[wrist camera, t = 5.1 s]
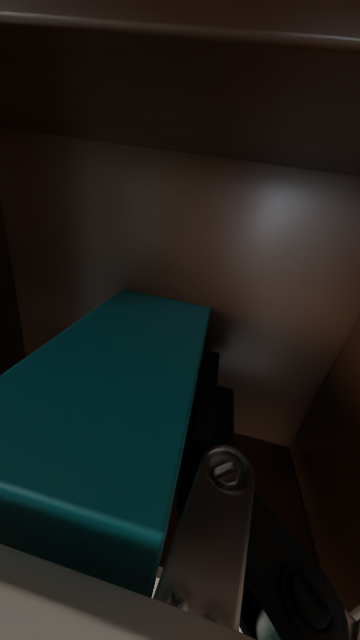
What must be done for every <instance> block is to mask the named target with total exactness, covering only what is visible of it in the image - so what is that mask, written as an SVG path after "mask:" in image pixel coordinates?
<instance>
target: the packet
mask: <svg viewBox="0 0 360 640" xmlns="http://www.w3.org/2000/svg"><path fill="white" fill-rule="evenodd" d="M210 312H211V308H210V307H206V306H201V305H196V304H191V303H187V302H182V301H177V300H172V299H167V298H162V297H158V296H153V295H148V294H143V293H138V292H134V291H129V290H124V289H123V290H121V291H119V292H118V293H117V294H115V295H114V296H112V297H111V298H110V299H108V300H107V301H105V302H104V303H102V304H101V305H100V306H98V307H97V308H95V309H94V310H93V311H91V312H90V313H88V314H87V315H85V316H84V317H83V318H81V319H80V320H78V321H77V322H76V323H74V324H73V325H71V326H70V327H68V328H67V329H66V330H64V331H63V332H61V333H60V334H58V335H57V336H56V337H54V338H53V339H51V340H50V341H49V342H47V343H46V344H44V345H43V346H41V347H40V348H39V349H37V350H36V351H34V352H33V353H32V354H30V355H29V356H27V357H26V358H24V359H23V360H22V361H20V362H19V363H17V364H16V365H15V366H13V367H12V368H10V369H9V370H7V371H6V372H5V373H3V374H2V375H0V544H2V545H5V546H8V547H10V548H13V549H16V550H19V551H22V552H24V553H27V554H30V555H33V556H36V557H39V558H41V559H44V560H47V561H50V562H53V563H55V564H58V565H61V566H64V567H67V568H69V569H72V570H75V571H78V572H80V573H83V574H86V575H89V576H91V577H94V578H97V579H100V580H103V581H105V582H108V583H111V584H114V585H116V586H119V587H122V588H125V589H127V590H130V591H133V592H136V593H139V594H141V595H144V596H147V597H150V598H151V597H152V593H153V589H154V585H155V580H156V576H157V572H158V568H159V564H160V559H161V555H162V551H163V547H164V543H165V538H166V534H167V529H168V524H169V519H170V514H171V509H172V504H173V499H174V494H175V489H176V484H177V478H178V473H179V468H180V463H181V458H182V453H183V448H184V443H185V438H186V433H187V428H188V423H189V418H190V413H191V408H192V403H193V398H194V393H195V388H196V383H197V378H198V373H199V368H200V363H201V358H202V353H203V348H204V343H205V338H206V332H207V327H208V322H209V317H210Z"/></svg>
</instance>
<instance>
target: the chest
mask: <svg viewBox="0 0 360 640" xmlns="http://www.w3.org/2000/svg"><path fill="white" fill-rule="evenodd" d="M123 289H124V290H129V291H134V292H138V293H143V294H148V295H153V296H158V297H162V298H167V299H172V300H177V301H182V302H187V303H191V304H196V305H201V306H206V307H210V308H211V312H210V317H209V322H208V327H207V332H206V338H205V343H204V348H203V353H206V351H207V350H209V351H213V352H218V353H220V358H219V371H218V386H222V387H226V388H231V389H233V395H234V448H235V449H236V450H238V451H240V452H241V453H242V454H243V455H244V456H245V457H246V458H247V459H248V461H249V462H250V464H251V466H252V468H253V471H254V477H255V485H254V489H255V490H256V491H257V493H258V494H259V495H260V496H261V497H262V499H263V500H264V501H265V502H266V504H267V505H268V506H269V507H270V508H271V510H272V511H273V512H274V513H275V514H276V516H277V517H278V518H279V519H280V520H281V522H282V523H283V524H284V525H285V527H286V528H287V529H288V530H289V531H290V533H291V534H292V535H293V536H294V537H295V539H296V540H297V541H298V542H299V544H300V545H301V546H302V547H303V548H304V550H305V551H306V552H307V553H308V554H309V556H310V557H311V558H312V559H313V560H314V562H315V563H316V564H317V565H318V567H319V568H320V569H321V570H322V571H323V573H324V574H325V575H326V576H327V578H328V579H329V581H330V582H331V584H332V585H333V586H334V588H335V589H336V592H337V594H338V596H339V598H340V600H341V602H342V604H343V607H344V609H345V610H346V611H347V612H348V613H349V614H350V615H351V616H352V617H353V618H354V619H355V620H356V621H357V620H359V619H360V0H0V375H2V374H3V373H5V372H6V371H7V370H9V369H10V368H12V367H13V366H15V365H16V364H17V363H19V362H20V361H22V360H23V359H24V358H26V357H27V356H29V355H30V354H32V353H33V352H34V351H36V350H37V349H39V348H40V347H41V346H43V345H44V344H46V343H47V342H49V341H50V340H51V339H53V338H54V337H56V336H57V335H58V334H60V333H61V332H63V331H64V330H66V329H67V328H68V327H70V326H71V325H73V324H74V323H76V322H77V321H78V320H80V319H81V318H83V317H84V316H85V315H87V314H88V313H90V312H91V311H93V310H94V309H95V308H97V307H98V306H100V305H101V304H102V303H104V302H105V301H107V300H108V299H110V298H111V297H112V296H114V295H115V294H117V293H118V292H119V291H121V290H123ZM177 492H178V491H176V490H175V494H174V499H173V504H172V509H171V514H170V519H169V524H168V529H167V534H166V538H165V543H164V547H163V551H162V555H161V559H160V564H159V568H158V572H157V576H156V577H157V578H160V577H161V574H162V571H163V568H164V565H165V562H166V559H167V556H168V554H169V551H170V548H171V545H172V542H173V539H174V536H175V533H176V530H177V528H178V525H179V522H180V519H181V517H180V515H179V514H178V512H177V510H176V498H177Z"/></svg>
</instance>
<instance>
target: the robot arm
mask: <svg viewBox="0 0 360 640" xmlns="http://www.w3.org/2000/svg"><path fill="white" fill-rule="evenodd" d="M219 358H220V353H218V352H213V351H209V350H207V351H206V353H202V358H201V363H200V368H199V373H198V378H197V383H196V388H195V393H194V398H193V403H192V408H191V413H190V418H189V423H188V428H187V433H186V438H185V443H184V448H183V453H182V458H181V463H180V468H179V473H178V478H177V484H176V489H175V490H176V491H178V492H177V498H176V510H177V512H178V514H179V515H180V517H181V519H180V522H179V525H178V528H177V530H176V533H175V536H174V539H173V542H172V545H171V548H170V551H169V554H168V556H167V559H166V562H165V565H164V568H163V571H162V574H161V577H160V580H159V583H158V585H157V588H156V591H155V594H154V597H153V599H152V598H150V597H147V596H144V595H141V594H139V593H136V592H133V591H130V590H127V589H125V588H122V587H119V586H116V585H114V584H111V583H108V582H105V581H103V580H100V579H97V578H94V577H91V576H89V575H86V574H83V573H80V572H78V571H75V570H72V569H69V568H67V567H64V566H61V565H58V564H55V563H53V562H50V561H47V560H44V559H41V558H39V557H36V556H33V555H30V554H27V553H24V552H22V551H19V550H16V549H13V548H10V547H8V546H5V545H2V544H0V640H360V619H359V620H357V621H356V620H355V619H354V618H353V617H352V616H351V615H350V614H349V613H348V612H347V611H346V610H345V609H344V607H343V604H342V602H341V600H340V598H339V596H338V594H337V592H336V589H335V588H334V586H333V585H332V584H331V582H330V581H329V579H328V578H327V576H326V575H325V574H324V573H323V571H322V570H321V569H320V568H319V567H318V565H317V564H316V563H315V562H314V560H313V559H312V558H311V557H310V556H309V554H308V553H307V552H306V551H305V550H304V548H303V547H302V546H301V545H300V544H299V542H298V541H297V540H296V539H295V537H294V536H293V535H292V534H291V533H290V531H289V530H288V529H287V528H286V527H285V525H284V524H283V523H282V522H281V520H280V519H279V518H278V517H277V516H276V514H275V513H274V512H273V511H272V510H271V508H270V507H269V506H268V505H267V504H266V502H265V501H264V500H263V499H262V497H261V496H260V495H259V494H258V493H257V491H256V490H255V489H254V485H255V477H254V471H253V468H252V466H251V464H250V462H249V461H248V459H247V458H246V457H245V456H244V455H243V454H242V453H241V452H240V451H238V450H236V449H235V448H234V395H233V389H231V388H226V387H222V386H218V371H219ZM239 627H240V628H241V630H242V632H243V633H240V632H239Z"/></svg>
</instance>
